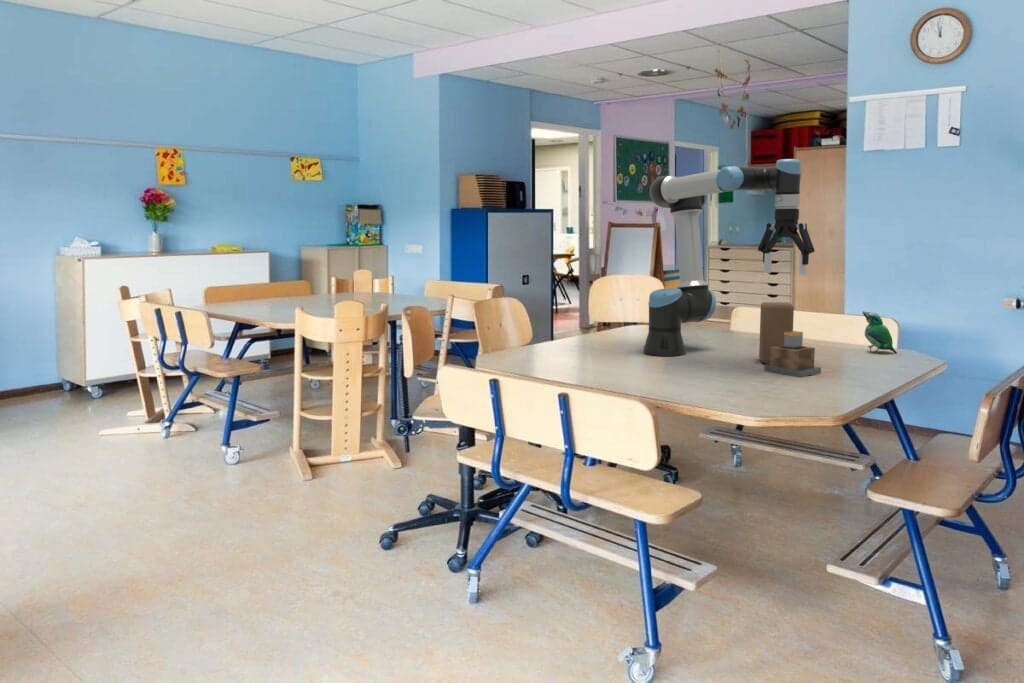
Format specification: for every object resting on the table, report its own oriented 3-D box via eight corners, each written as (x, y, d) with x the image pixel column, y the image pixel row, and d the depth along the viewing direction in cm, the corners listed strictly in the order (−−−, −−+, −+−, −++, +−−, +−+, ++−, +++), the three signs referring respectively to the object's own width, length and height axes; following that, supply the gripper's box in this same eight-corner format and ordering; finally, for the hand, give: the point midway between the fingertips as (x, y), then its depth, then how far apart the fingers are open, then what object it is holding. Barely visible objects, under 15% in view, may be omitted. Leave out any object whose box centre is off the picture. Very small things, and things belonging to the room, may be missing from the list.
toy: (861, 354, 304) (863, 312, 302) (859, 350, 312) (861, 309, 309) (898, 355, 300) (901, 313, 298) (895, 351, 308) (897, 310, 306)
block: (792, 364, 286) (794, 305, 283) (761, 363, 288) (763, 304, 285) (788, 359, 295) (790, 302, 292) (758, 358, 297) (760, 301, 294)
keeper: (764, 370, 274) (765, 330, 273) (783, 367, 280) (785, 328, 278) (800, 377, 263) (802, 335, 261) (820, 373, 269) (822, 332, 267)
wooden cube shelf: (770, 365, 272) (770, 347, 272) (789, 362, 278) (789, 344, 277) (795, 369, 265) (795, 350, 264) (814, 366, 270) (814, 347, 269)
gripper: (748, 208, 281) (746, 272, 284) (813, 207, 261) (810, 276, 264) (763, 208, 285) (761, 271, 289) (827, 207, 265) (825, 275, 268)
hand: (784, 274), depth 276 cm, fingers open, 13 cm apart
